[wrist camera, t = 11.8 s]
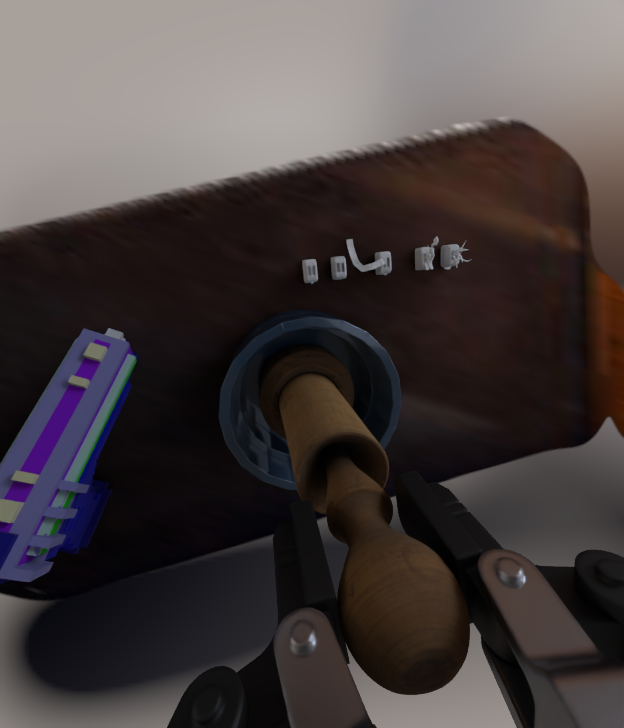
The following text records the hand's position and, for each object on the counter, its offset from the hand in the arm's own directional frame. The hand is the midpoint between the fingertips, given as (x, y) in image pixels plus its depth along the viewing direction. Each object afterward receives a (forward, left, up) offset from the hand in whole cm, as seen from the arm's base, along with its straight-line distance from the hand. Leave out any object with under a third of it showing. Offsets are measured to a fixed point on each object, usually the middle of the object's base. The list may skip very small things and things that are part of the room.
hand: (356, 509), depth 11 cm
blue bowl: (0, 0, -14) cm, 14 cm away
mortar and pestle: (0, 0, -13) cm, 13 cm away
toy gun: (-15, 0, -15) cm, 21 cm away
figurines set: (+8, +8, -15) cm, 18 cm away
